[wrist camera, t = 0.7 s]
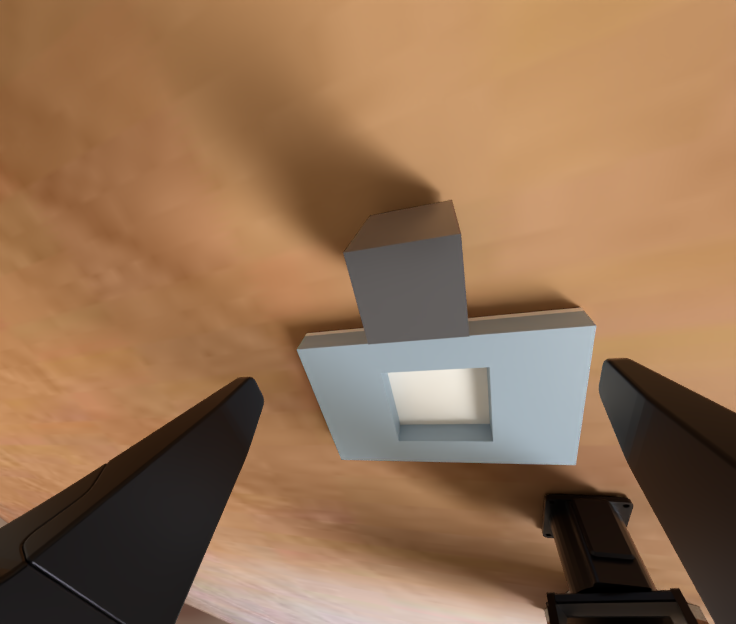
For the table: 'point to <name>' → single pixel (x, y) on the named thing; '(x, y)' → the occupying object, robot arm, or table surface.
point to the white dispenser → (695, 609)
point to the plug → (410, 275)
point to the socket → (458, 391)
